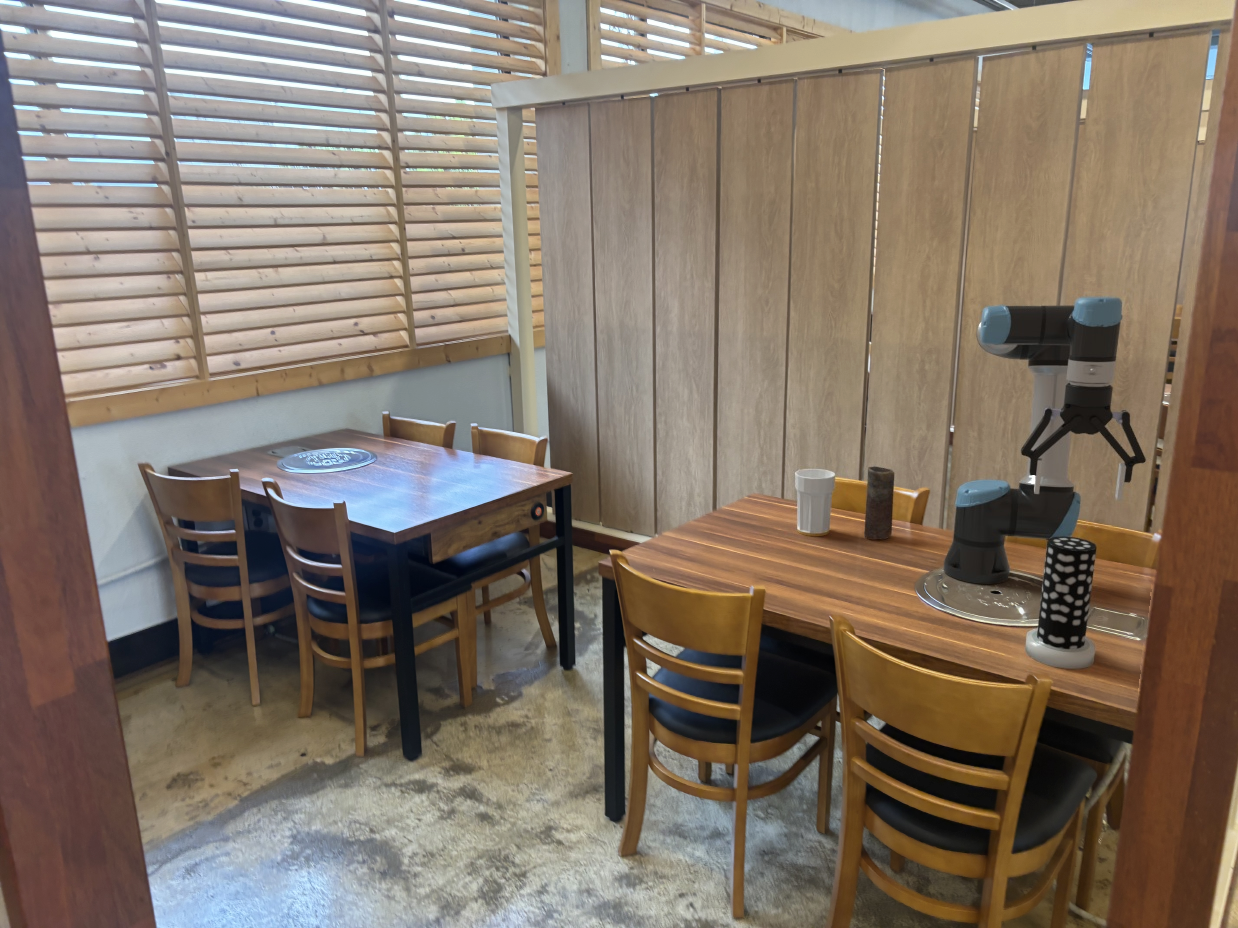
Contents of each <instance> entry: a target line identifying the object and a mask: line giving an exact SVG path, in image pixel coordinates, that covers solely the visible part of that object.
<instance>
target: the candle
mask: <svg viewBox="0 0 1238 928" xmlns="http://www.w3.org/2000/svg"><path fill="white" fill-rule="evenodd" d="M894 488H895V472H894V471H893V469H892V468H885V467H879V466H869V467H868V469H867V482H866V499H865V500H866V501H865V514H864V533H863V534H864V538H866V539H867V540H868V539H869V540H872V541H873V540H886V539H889V538H890V536H891V535H892V532H893V513H894V511H893V509H894V508H893V507H894V506H893V505H894V490H895V489H894Z"/></svg>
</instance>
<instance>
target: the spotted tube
mask: <svg viewBox="0 0 1238 928" xmlns="http://www.w3.org/2000/svg"><path fill="white" fill-rule="evenodd" d="M1097 548H1098V547H1097V544H1095V543H1094V542H1092V541H1091V540H1087V539H1084V538H1082V537H1081V538H1079V537H1073V536H1070V537H1066V536H1058V537H1051V538H1049V539H1048V540H1046V550H1045V558H1044V565H1043V566H1044V567H1043V569H1044V570H1043V578H1042V585H1041V594H1040V595H1041V596H1040V602H1039V603H1040V604H1039V613H1038V623H1037V628H1038V630H1037V638H1038V639H1039V640H1040V641H1041V642H1043V643H1045V644H1047V645H1050V646H1053V647H1057V648H1062V649H1078V648H1081V647H1083V646H1084V644H1085V637H1087V636H1086V635H1087V627H1088V619H1089V611H1090V605H1091V603H1090V602H1091V598H1092V597H1091V594H1092V586H1093V581H1094V580H1093V579H1094V578H1093V577H1094V571H1095V565H1096V556H1097Z"/></svg>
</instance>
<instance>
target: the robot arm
mask: <svg viewBox="0 0 1238 928" xmlns="http://www.w3.org/2000/svg"><path fill="white" fill-rule="evenodd" d="M1122 313H1123V301H1122V300H1121V298H1119V297H1117V296H1113V297H1112V296H1085V297H1084V296H1083V297H1079V298H1077V299H1076V300H1075V302H1074V305H1073V304H1072V305H1066V304H1065V305H1064V304H1063V305H1004V304H1000V305H999V304H998V305H988V306H986V307H984V308H983V309H982V313H981V319H980V320H981V321H980V323H979V324H978V326H977V329H976V341H977V343H978V345H979V347H980V348H981V349H983V350H984V351H985V353H986V352H987V353H988V354H990V355H993V356H996V357H999V358H1003V359H1007V360H1008V359H1009V360H1018V361H1019V360H1024V361H1025V360H1026V361H1028V365H1027V368H1028V369H1029V370H1030V372H1031V373H1033V376H1034V377H1033V379H1034V380H1033V394H1032V404H1031V415H1030V416H1031V417H1030V418H1031V419H1030V429H1029V430H1030V431H1029V437H1028V438H1027V439H1026V441H1025V443H1024V444H1023V446H1021V449H1020V453H1021V455H1022V456H1024V457H1027V458H1028V459H1027V469H1026V470H1027V471H1026V475H1025V476H1024V477H1023V478H1021V479H1020V480H1019V482H1018V488H1012V487H1011V485H1010V483H1009V482H1007V481H1006V480H1001V479H1000V480H999V479H978V480H977V479H976V480H972V481H967V482H964V483H962V484H961V485H960V486H959V487H958V489H957V491H956V500H955V502H954V506H955V514H954V526H953V537H952V542H951V545H950V546H949V549H948V551H947V553H946V556H945V558H944V561H943V572H944V573H945V574H946V575H947V576H949V577H951V578H953V579H956V580H959V581H962V582H967V583H972V584H973V583H974V584H980V585H981V584H982V585H983V584H984V585H986V584H988V585H991V584H993V585H994V584H1000V583H1004V582H1006V581H1008V580H1009V579H1010V573H1011V572H1010V571H1011V568H1010V563H1009V559H1008V556H1007V552H1006V549H1005V538H1006V537H1014V538H1024V539H1025V538H1026V539H1027V538H1029V539H1039V540H1046V541H1047V540H1048V539H1049V538H1051V537H1058V536H1066V537H1072V535H1073V534H1074V532H1075V529H1076V527H1077V523H1078V520H1079V516H1080V511H1081V501H1082V500H1081V498H1082V497H1081V494H1080V493H1079V492H1077V491H1074V489H1075V484H1074V483H1072V481H1071V480H1070V479H1069V478H1068V471H1069V470H1068V469H1069V459H1070V449H1071V447H1070V446H1071V435H1072V433H1073V434H1075V435H1082V434H1087V435H1091V436H1092V435H1096V434H1098V433H1099V434H1100V435H1101V436H1102V437H1103V438H1104V439H1105V441H1106V442H1107V443H1108V444H1109V445H1110V447H1112V449H1113V450H1114V452H1116V454H1117V455H1118V457H1120V459H1121V460H1122V461H1123V462H1119V464H1118V470H1117V471H1118V472H1117V479H1116V489H1115V493H1114V494H1115V495H1114V496H1115V500H1116V501H1117V502H1118V501H1120V502H1122V500H1123V493H1124V487H1125V485H1124V484H1125V483H1128V484H1130V483H1131V481H1132V476H1133V468H1134V466H1135V465H1138V464H1144V463H1146V461H1147V459H1146V457H1145V454H1144V453H1143V450H1142V448H1141V446H1140V443H1139V441H1138V438H1137V437H1136V435H1135V431H1134V430H1133V428H1132V426H1131V414H1130V412H1129V411H1128V410H1126V409H1123V410H1121V411H1112V409H1111V406H1112V398H1113V389H1114V387H1113V386H1112V385H1111V384H1112V383H1113V382H1115V381H1114V380H1115V370H1116V363H1117V362H1116V361H1117V353H1118V345H1119V336H1120V330H1121V321H1122V320H1123V314H1122ZM1113 419H1115V422H1117V423H1118V424H1120V425H1121V427H1122V429H1123V432H1124V434H1125V436H1126V439H1127V441H1128V443H1129V445H1130V447H1131V450H1132V452H1133V454H1134V455H1131V456H1130V455H1129V453H1128V452H1127V451H1126V450H1125V448H1123V446H1122V445H1121V444H1120V443H1119V441H1118V440H1117V439H1116V437H1114V435H1113V434H1112V433H1111V431H1110V430H1109V429H1108V427H1106V426H1107V425H1108V424H1109V423H1110V421H1112V420H1113Z"/></svg>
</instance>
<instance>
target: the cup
mask: <svg viewBox="0 0 1238 928" xmlns="http://www.w3.org/2000/svg"><path fill="white" fill-rule="evenodd" d="M794 474H795V475H794V476H795V477H794V479H795V480H794V481H795V482H794V485H795V487H794V488H795V490H796V492H797V494H796V495H797V496H796V497H797V499H796V502H797V504H796V505H797V508H796V510H797V511H796V512H797V513H796V515H797V516H796V517H797V519H796V520H797V521H796V523H797V524H796V525H797V527H796V528H797V532H798V533H799V534H801V535H803V536H807V537H823V536H826V535H828V534H829V533H830V526H831V525H830V524H831V513H832V512H831V511H832V510H831V509H832V499H833V497H832V496H833V492H834V491H835V487H836V486H835V485H836V473H835V472H834V471H831V470H827V469H822V468H821V469H820V468H804V469H799V470H797V471H795V472H794Z"/></svg>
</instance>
